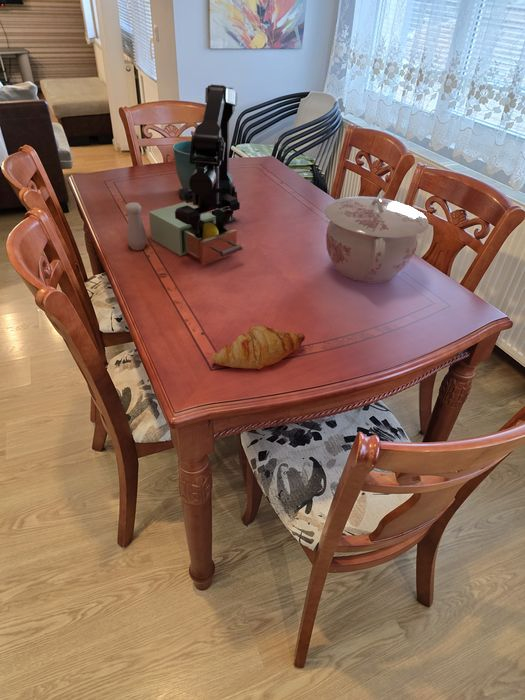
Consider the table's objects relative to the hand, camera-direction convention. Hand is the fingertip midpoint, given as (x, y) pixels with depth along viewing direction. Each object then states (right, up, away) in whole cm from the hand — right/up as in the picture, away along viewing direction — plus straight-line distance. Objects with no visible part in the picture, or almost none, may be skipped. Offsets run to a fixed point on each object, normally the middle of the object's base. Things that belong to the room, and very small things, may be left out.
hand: (208, 237), depth 132 cm
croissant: (+14, -33, -32) cm, 48 cm away
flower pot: (-8, +26, +42) cm, 50 cm away
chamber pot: (+44, -9, +1) cm, 45 cm away
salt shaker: (-21, -2, +5) cm, 22 cm away
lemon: (0, -3, +2) cm, 4 cm away
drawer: (0, -4, +2) cm, 5 cm away
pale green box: (-9, +1, +10) cm, 13 cm away
